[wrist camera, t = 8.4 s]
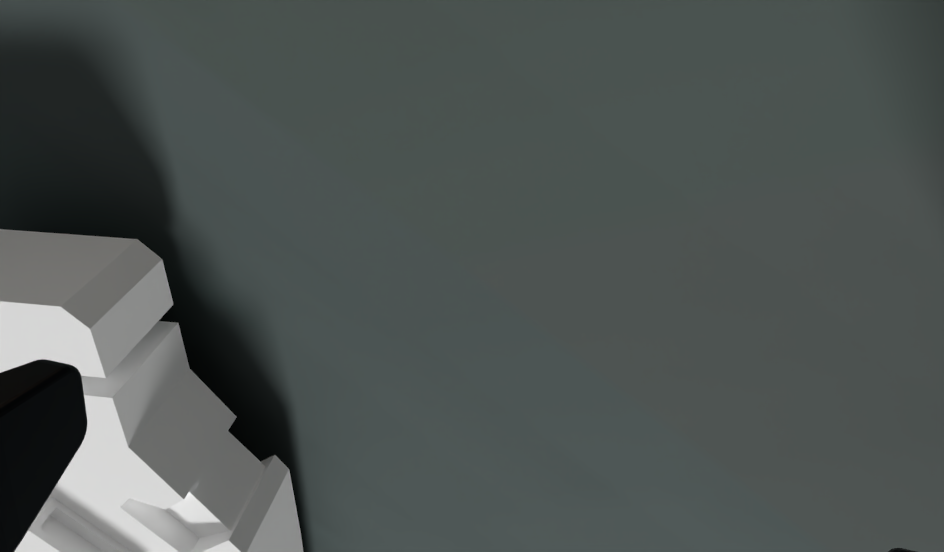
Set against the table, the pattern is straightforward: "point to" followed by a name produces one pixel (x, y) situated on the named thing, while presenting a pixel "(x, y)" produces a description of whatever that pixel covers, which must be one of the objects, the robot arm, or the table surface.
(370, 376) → the table surface
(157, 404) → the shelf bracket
